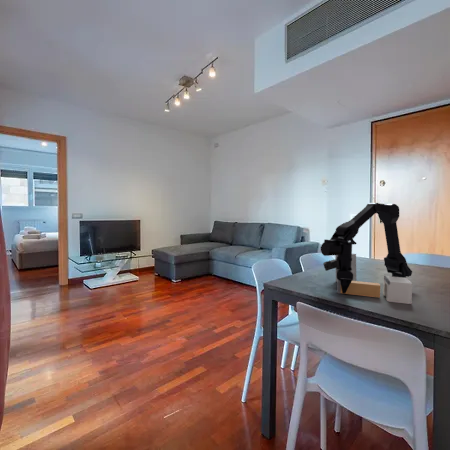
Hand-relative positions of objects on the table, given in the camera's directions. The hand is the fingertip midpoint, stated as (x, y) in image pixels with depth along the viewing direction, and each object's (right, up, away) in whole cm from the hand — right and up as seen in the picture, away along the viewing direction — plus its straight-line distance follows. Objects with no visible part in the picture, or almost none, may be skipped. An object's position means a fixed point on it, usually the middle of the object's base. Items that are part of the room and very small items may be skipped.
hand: (343, 290), depth 118 cm
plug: (+5, -1, -2) cm, 6 cm away
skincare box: (+8, -1, +17) cm, 19 cm away
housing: (+19, -2, -7) cm, 20 cm away
